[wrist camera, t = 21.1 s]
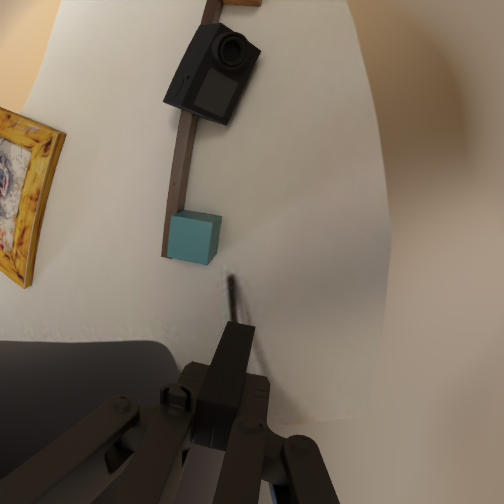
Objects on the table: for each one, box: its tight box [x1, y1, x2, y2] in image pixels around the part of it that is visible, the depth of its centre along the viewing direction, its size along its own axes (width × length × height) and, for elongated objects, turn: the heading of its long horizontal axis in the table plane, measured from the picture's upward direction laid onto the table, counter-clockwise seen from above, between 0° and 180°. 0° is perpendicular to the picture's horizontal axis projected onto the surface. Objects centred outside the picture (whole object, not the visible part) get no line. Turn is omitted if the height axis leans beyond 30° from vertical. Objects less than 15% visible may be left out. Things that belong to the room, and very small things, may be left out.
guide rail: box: [161, 0, 223, 259], centre depth 36 cm, size 2×42×2 cm, turn 170°
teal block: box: [167, 210, 222, 265], centre depth 39 cm, size 5×5×5 cm
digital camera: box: [163, 23, 261, 125], centre depth 32 cm, size 10×5×7 cm
